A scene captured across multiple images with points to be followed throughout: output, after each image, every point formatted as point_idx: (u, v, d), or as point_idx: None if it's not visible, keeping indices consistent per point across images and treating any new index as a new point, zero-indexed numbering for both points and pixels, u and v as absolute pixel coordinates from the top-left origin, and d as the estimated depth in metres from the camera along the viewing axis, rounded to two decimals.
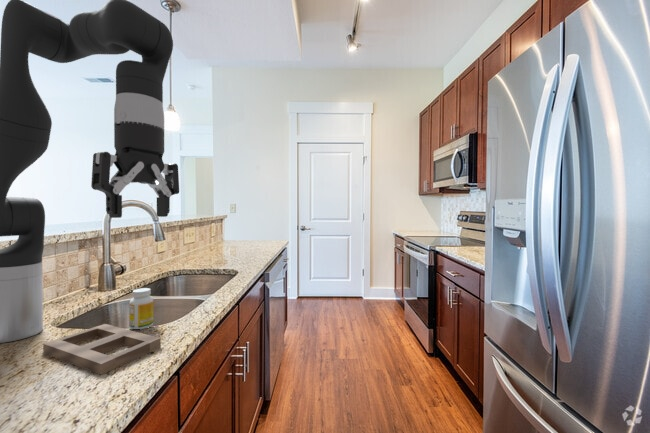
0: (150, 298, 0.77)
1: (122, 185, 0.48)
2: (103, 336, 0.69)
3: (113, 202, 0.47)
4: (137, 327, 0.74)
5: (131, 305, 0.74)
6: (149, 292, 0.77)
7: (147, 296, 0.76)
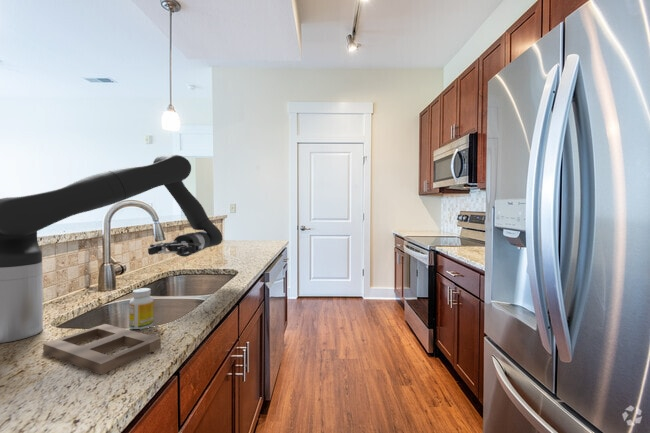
0: (150, 298, 0.77)
1: (185, 252, 0.92)
2: (103, 336, 0.69)
3: None
4: (137, 327, 0.74)
5: (131, 305, 0.74)
6: (149, 292, 0.77)
7: (147, 296, 0.76)
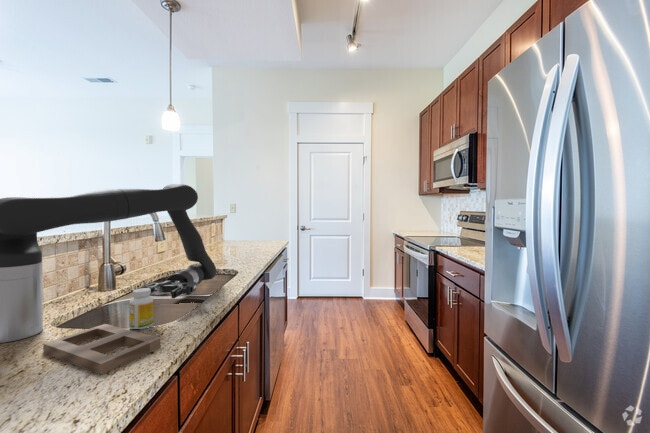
0: (150, 298, 0.77)
1: None
2: (103, 336, 0.69)
3: None
4: (137, 327, 0.74)
5: (131, 305, 0.74)
6: (149, 292, 0.77)
7: (147, 296, 0.76)
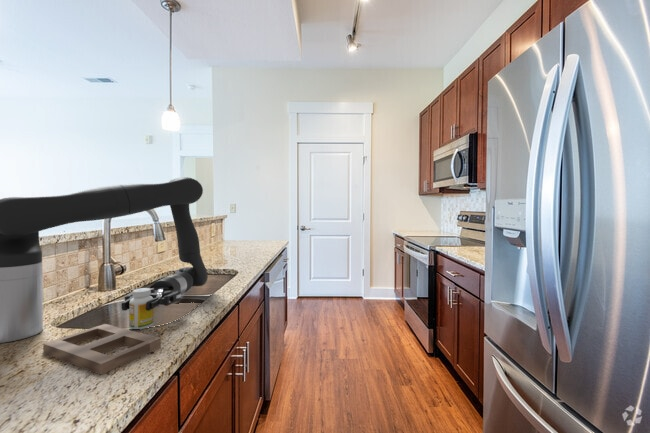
0: (150, 298, 0.77)
1: None
2: (103, 336, 0.69)
3: None
4: (137, 327, 0.74)
5: (131, 305, 0.74)
6: (149, 292, 0.77)
7: (147, 296, 0.76)
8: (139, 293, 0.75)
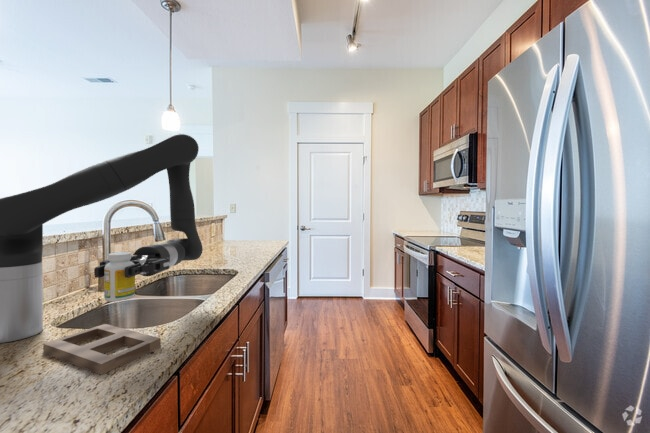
0: (130, 263, 0.62)
1: None
2: (103, 336, 0.69)
3: None
4: (114, 298, 0.60)
5: (106, 271, 0.60)
6: (129, 256, 0.62)
7: (127, 261, 0.62)
8: (116, 256, 0.60)
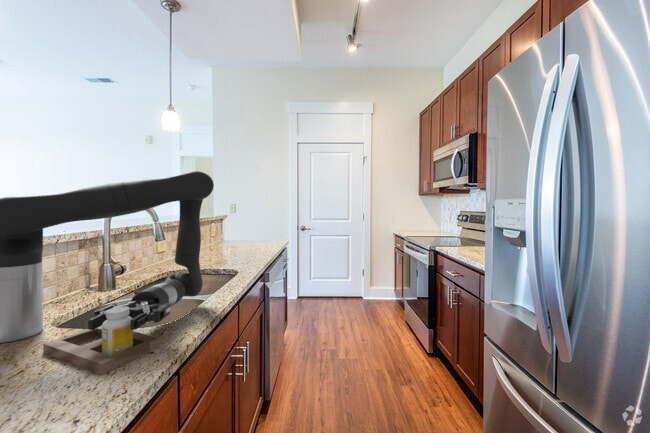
0: (128, 319, 0.62)
1: None
2: None
3: None
4: None
5: (103, 329, 0.59)
6: (127, 312, 0.62)
7: (125, 317, 0.61)
8: (114, 314, 0.60)
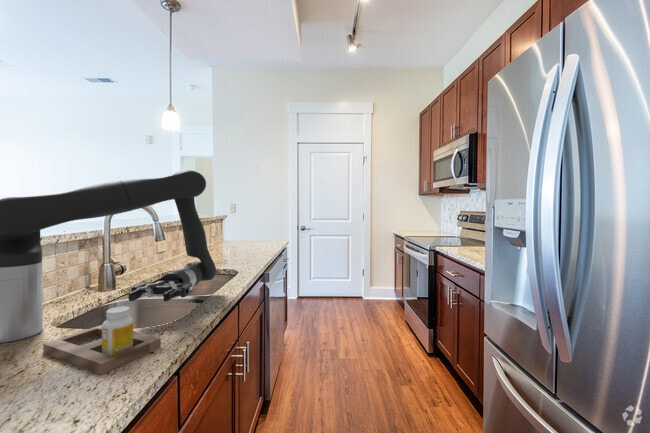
0: (128, 319, 0.62)
1: None
2: None
3: None
4: None
5: (103, 329, 0.59)
6: (127, 312, 0.62)
7: (125, 317, 0.61)
8: (114, 314, 0.60)
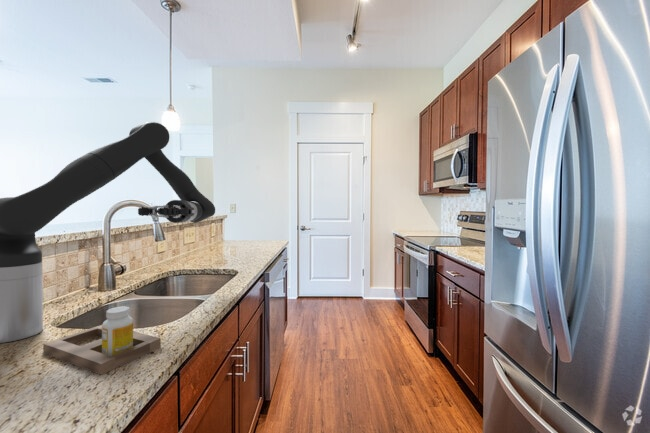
0: (128, 319, 0.62)
1: (177, 215, 0.88)
2: None
3: (177, 214, 0.86)
4: None
5: (103, 329, 0.59)
6: (127, 312, 0.62)
7: (125, 317, 0.61)
8: (114, 314, 0.60)
